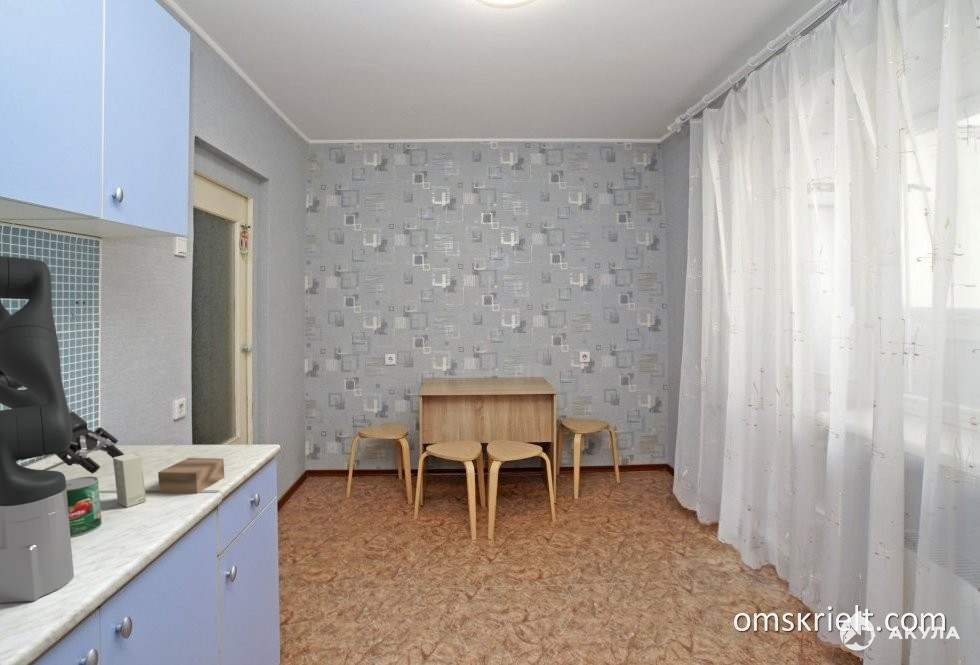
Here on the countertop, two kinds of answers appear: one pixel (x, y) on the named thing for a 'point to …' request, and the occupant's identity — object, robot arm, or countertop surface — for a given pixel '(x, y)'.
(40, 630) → the countertop surface
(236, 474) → the countertop surface
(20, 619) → the countertop surface
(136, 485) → the skincare box
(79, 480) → the canned tomato
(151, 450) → the countertop surface
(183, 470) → the walnut block
